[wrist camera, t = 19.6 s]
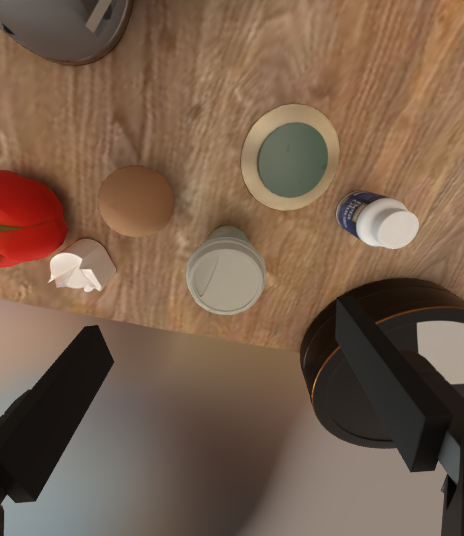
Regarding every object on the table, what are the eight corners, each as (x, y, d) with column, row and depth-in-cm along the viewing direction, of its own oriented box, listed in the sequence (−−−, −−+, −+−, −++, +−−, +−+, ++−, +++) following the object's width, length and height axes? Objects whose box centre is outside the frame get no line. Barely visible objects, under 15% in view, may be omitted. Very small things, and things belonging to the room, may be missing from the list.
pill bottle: (337, 191, 33) (376, 204, 24) (378, 188, 33) (433, 201, 24) (332, 231, 35) (367, 257, 26) (371, 229, 35) (419, 254, 26)
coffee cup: (234, 202, 33) (236, 225, 22) (268, 251, 36) (284, 292, 25) (185, 237, 35) (164, 274, 24) (221, 281, 38) (216, 332, 27)
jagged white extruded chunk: (77, 289, 39) (50, 316, 33) (47, 254, 36) (12, 276, 30) (121, 271, 38) (101, 295, 32) (93, 232, 35) (66, 251, 29)
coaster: (235, 112, 29) (235, 111, 28) (339, 97, 29) (342, 96, 28) (245, 214, 34) (245, 215, 33) (334, 203, 34) (337, 204, 33)
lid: (322, 192, 32) (326, 194, 31) (258, 199, 32) (260, 201, 31) (325, 119, 29) (330, 117, 27) (254, 127, 29) (255, 126, 28)
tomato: (-13, 153, 31) (-103, 153, 23) (86, 191, 33) (37, 202, 24) (-13, 232, 35) (-88, 256, 27) (76, 261, 37) (30, 292, 28)
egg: (127, 223, 35) (85, 250, 25) (118, 163, 31) (66, 166, 22) (182, 224, 35) (162, 252, 25) (179, 165, 32) (155, 170, 22)
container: (274, 397, 35) (265, 347, 43) (379, 479, 43) (354, 424, 52) (480, 268, 26) (418, 239, 35) (560, 401, 35) (494, 351, 44)
